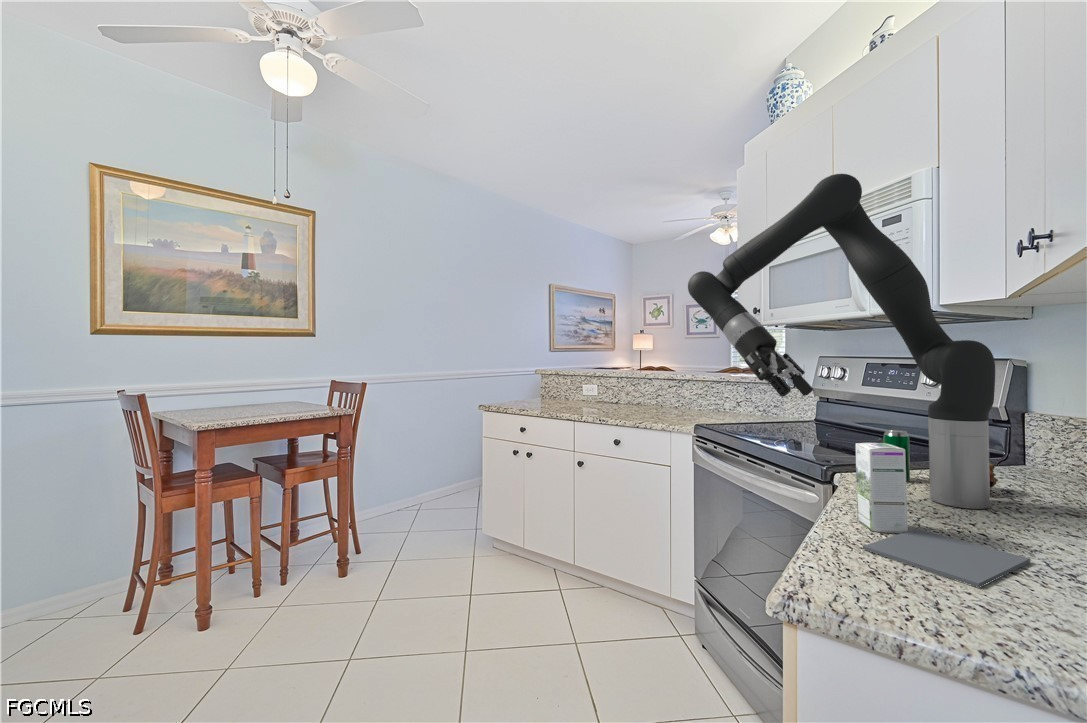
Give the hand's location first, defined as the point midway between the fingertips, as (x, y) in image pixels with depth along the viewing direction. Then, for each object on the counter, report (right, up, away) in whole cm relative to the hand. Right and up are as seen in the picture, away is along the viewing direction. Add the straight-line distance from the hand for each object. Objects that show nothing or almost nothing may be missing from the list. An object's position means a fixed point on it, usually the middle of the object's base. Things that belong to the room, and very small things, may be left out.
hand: (798, 393), depth 94 cm
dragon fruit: (+44, -23, +9) cm, 50 cm away
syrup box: (+8, -23, -12) cm, 27 cm away
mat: (+8, -23, -25) cm, 34 cm away
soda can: (+35, -23, +20) cm, 46 cm away
